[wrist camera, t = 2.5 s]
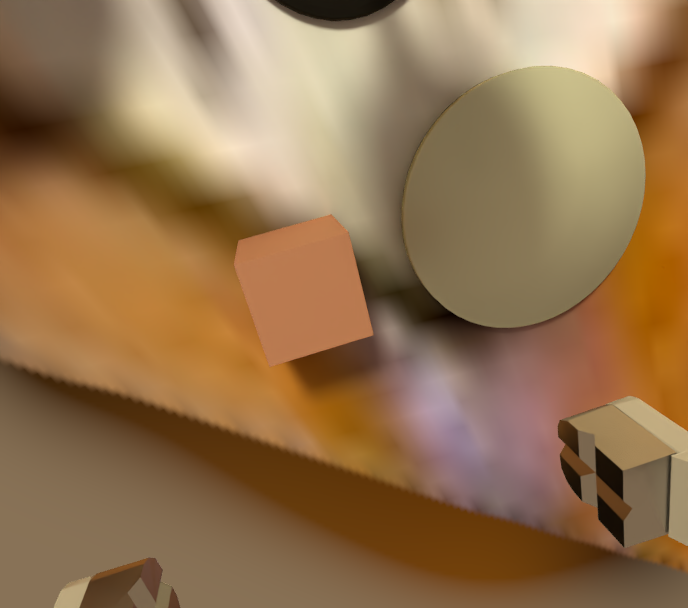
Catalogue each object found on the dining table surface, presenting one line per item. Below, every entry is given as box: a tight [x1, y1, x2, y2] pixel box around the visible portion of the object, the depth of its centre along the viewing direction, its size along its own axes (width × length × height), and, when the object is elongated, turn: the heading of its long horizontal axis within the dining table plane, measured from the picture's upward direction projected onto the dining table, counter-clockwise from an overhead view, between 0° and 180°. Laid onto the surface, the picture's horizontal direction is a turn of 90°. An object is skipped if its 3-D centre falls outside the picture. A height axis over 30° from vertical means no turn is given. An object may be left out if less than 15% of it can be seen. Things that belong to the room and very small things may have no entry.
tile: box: [401, 66, 645, 328], centre depth 25 cm, size 14×14×1 cm
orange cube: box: [234, 215, 374, 367], centre depth 23 cm, size 5×5×5 cm
